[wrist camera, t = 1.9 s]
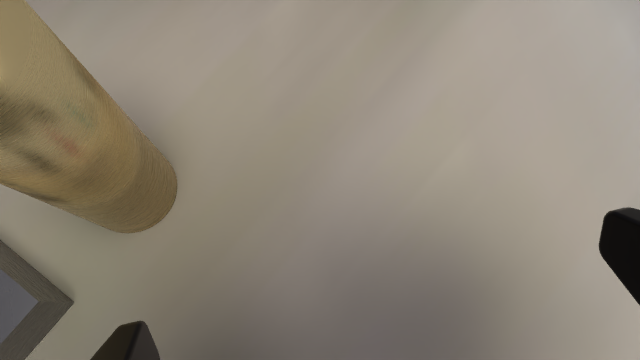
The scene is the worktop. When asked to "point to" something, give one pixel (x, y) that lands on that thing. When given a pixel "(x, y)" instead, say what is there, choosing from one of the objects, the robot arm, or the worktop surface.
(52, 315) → the collar
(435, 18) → the worktop surface
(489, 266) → the worktop surface
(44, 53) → the beige tall cylinder
